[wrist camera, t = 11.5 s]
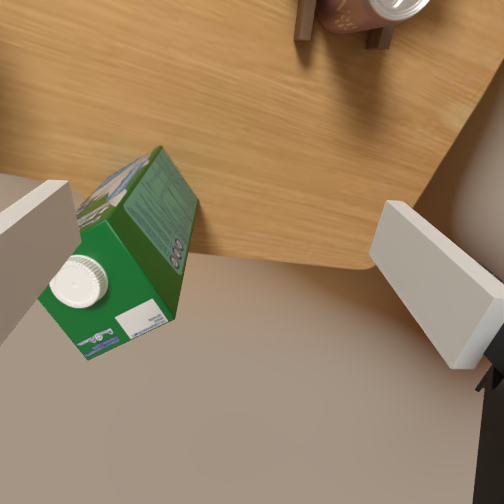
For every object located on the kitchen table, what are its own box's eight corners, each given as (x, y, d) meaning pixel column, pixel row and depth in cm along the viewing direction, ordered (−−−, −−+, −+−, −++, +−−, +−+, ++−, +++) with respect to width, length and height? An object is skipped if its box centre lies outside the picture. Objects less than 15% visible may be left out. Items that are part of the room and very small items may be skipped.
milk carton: (161, 144, 42) (94, 234, 21) (199, 200, 47) (175, 321, 25) (107, 177, 44) (-5, 290, 23) (148, 228, 48) (87, 363, 27)
